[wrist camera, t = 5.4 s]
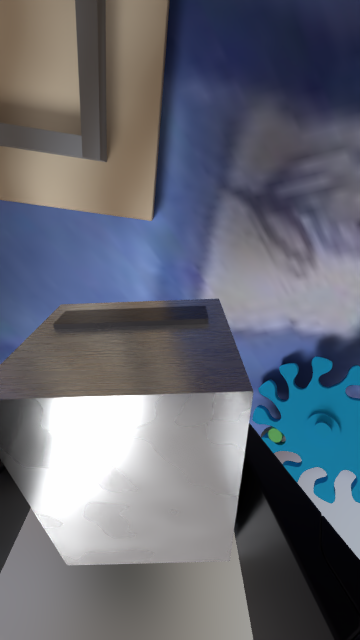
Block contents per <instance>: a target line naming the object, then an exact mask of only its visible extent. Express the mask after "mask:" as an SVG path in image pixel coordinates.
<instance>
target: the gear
mask: <svg viewBox="0 0 360 640" xmlns="http://www.w3.org/2000/svg"><path fill="white" fill-rule="evenodd" d="M312 367H313V377H312V380H311V382H310V383H309V385H308V386H307V387H305V388H300V387H298V386H297V385H296V384H295V381H294V380H295V377H296V376H297V374H298V372H299V367H298V365H297V364H296V363H288V364H284V365H281V366H280V368H279V369H280V373H281V374H282V376H283V377H284V378H285V380H286V381H287V383H288V387H289V399H287V400H282V399H280V398H279V397H278V395H277V385H276V383H275V382H274V381H273V380H268V381H266V382H265V383H263V384H262V385H261V386H260V387H259V389H258V390H259V392H260V393H261V394H262V395H263V396H265V397H267V398H269V399H270V400H271V401H272V402H273V403H274V404H275V405H276V406H277V408H278V410H279V411H280V413H281V419H275V418H273V417H272V416H271V414H270V413H269V411H268V409H267V408H266V407H265V406H262V405H259V406H258V407H257V408H256V409H255V411H254V414H253V421H254V422H255V423H257V424H266V425H270V426H271V427H268V428H266V429H265V430H264V431H263V432H262V434H261V438H262V439H263V441H264V442H265V443H266V444H267V446H268V447H269V448H270V449H271V451H272V452H273V453H275V452H278V451H289V452H293V453H296V454H298V455H299V456H300V457H301V459H302V461H301V462H300V463H296V462H292V461H285V462H284V463H283V466H284V467H285V468H286V470H287V471H288V472H289V473H290V475H291V476H292V477H293V478H294V480H295V481H296V482H298V480H299V477H300V475H301V474H302V473H303V472H304V471H306V470H308V469H310V468H314V467H320V468H322V469H324V470H325V471H326V473H327V476H326V477H323V478H319V479H317V480H316V481H315V483H314V494H315V495H316V496H318V497H319V498H321V499H322V500H324V501H326V502H329V503H333V502H334V501H335V488H334V481H335V479H336V477H337V476H338V474H339V473H340V472H341V471H342V470H349V471H351V472H353V473H354V474H355V475H356V478H355V480H354V481H353V482H352V484H351V491H352V496H353V498H354V500H355V501H356V502H359V503H360V399H359V398H352V397H349V396H348V395H347V394H346V392H345V389H346V388H347V387H348V386H349V385H360V366H358V365H354V366H352V367H351V368H350V369H349V371H348V374H347V375H346V377H345V378H344V379H343V380H342V381H341V382H339V383H337V384H335V385H333V386H330V387H326V386H323V385H322V384H321V383H320V382H319V377H320V376H321V375H322V374H325V373H327V372H329V371H330V370H331V369H332V361H330V360H329V359H326V358H323V357H318V356H316V357H314V358H313V360H312Z"/></svg>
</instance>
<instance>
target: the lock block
mask: <svg viewBox="0 0 360 640" xmlns="http://www.w3.org/2000/svg"><path fill="white" fill-rule="evenodd" d="M252 398H253V389H252V386H251V383H250V381H249V378H248V375H247V373H246V370H245V367H244V365H243V362H242V359H241V357H240V354H239V351H238V349H237V346H236V343H235V340H234V338H233V335H232V332H231V330H230V327H229V324H228V322H227V319H226V316H225V314H224V311H223V308H222V306H221V303H220V300H219V299H196V300H170V301H143V302H116V303H90V304H63V305H60V306H59V307H58V308H57V309H56V310H55V311H54V312H53V313H52V314H51V315H50V316H49V317H48V318H47V319H46V320H45V321H44V322H43V323H42V324H41V325H40V326H39V327H38V328H37V329H36V330H35V331H34V332H33V333H32V334H31V335H30V336H29V337H28V338H27V339H26V340H25V341H24V342H23V343H22V344H21V345H20V346H19V347H18V348H17V349H16V350H15V351H14V352H13V353H12V354H11V355H10V356H9V357H8V358H7V359H6V360H5V361H4V362H3V363H2V364H1V365H0V459H1V461H2V462H3V464H4V465H5V467H6V469H7V470H8V472H9V473H10V475H11V476H12V478H13V480H14V481H15V483H16V484H17V486H18V488H19V489H20V491H21V492H22V494H23V496H24V497H25V499H26V500H27V502H28V504H29V505H30V507H31V508H32V510H33V511H34V513H35V515H36V516H37V518H38V519H39V521H40V523H41V524H42V526H43V527H44V529H45V531H46V532H47V534H48V535H49V537H50V539H51V540H52V542H53V543H54V545H55V546H56V548H57V550H58V551H59V553H60V554H61V556H62V558H63V559H64V561H65V562H66V564H67V565H92V564H131V563H132V564H134V563H172V562H173V563H174V562H209V561H210V562H212V561H213V562H214V561H230V554H231V547H232V540H233V532H234V526H235V519H236V512H237V505H238V498H239V490H240V483H241V476H242V469H243V462H244V455H245V448H246V441H247V433H248V426H249V419H250V412H251V405H252Z"/></svg>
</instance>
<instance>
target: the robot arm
mask: <svg viewBox="0 0 360 640" xmlns="http://www.w3.org/2000/svg"><path fill="white" fill-rule="evenodd" d="M30 508H31V507H30V505H29V504H28V502H27V500H26V499H25V497H24V496H23V494H22V492H21V491H20V489H19V488H18V486H17V484H16V483H15V481H14V480H13V478H12V476H11V475H10V473H9V472H8V470H7V469H6V467H5V465H4V464H3V462H2V461H1V459H0V572H1V570H2V568H3V566H4V564H5V562H6V560H7V557H8V555H9V553H10V551H11V549H12V547H13V544H14V542H15V540H16V538H17V536H18V534H19V532H20V530H21V527H22V525H23V523H24V521H25V519H26V517H27V514H28V512H29V510H30ZM234 532H235V538H236V544H237V549H238V554H239V560H240V566H241V572H242V577H243V583H244V588H245V594H246V600H247V605H248V611H249V617H250V622H251V628H252V634H253V639H254V640H360V560H359V558H358V557H357V556H356V555H355V554H354V553H353V551H352V550H351V549H350V548H349V547H348V545H347V544H346V543H345V542H344V540H343V539H342V538H341V537H340V536H339V534H338V533H337V532H336V531H335V530H334V528H333V527H332V526H331V525H330V523H329V522H328V521H327V520H326V518H325V517H324V516H321V512H320V511H319V510H318V508H317V507H316V506H315V505H314V503H313V502H312V501H311V500H310V498H309V497H308V496H307V495H306V493H305V492H304V491H303V490H302V488H301V487H300V486H299V485H298V483H297V482H296V481H295V480H294V478H293V477H292V476H291V475H290V473H289V472H288V471H287V470H286V468H285V467H284V466H283V465H282V463H281V462H280V461H279V460H278V458H277V457H276V456H275V455H274V453H273V452H272V451H271V449H270V448H269V447H268V446H267V444H266V443H265V442H264V441H263V439H262V438H261V437H260V436H259V434H258V433H257V432H256V431H255V429H254V428H253V427H252V426H251V424H250V423H249V426H248V433H247V441H246V448H245V455H244V462H243V469H242V476H241V483H240V490H239V498H238V505H237V512H236V519H235V526H234Z"/></svg>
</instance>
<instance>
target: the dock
mask: <svg viewBox="0 0 360 640" xmlns="http://www.w3.org/2000/svg"><path fill="white" fill-rule="evenodd" d="M169 1H170V0H0V200H6V201H13V202H20V203H27V204H35V205H42V206H49V207H56V208H63V209H70V210H78V211H85V212H92V213H99V214H106V215H113V216H120V217H128V218H135V219H142V220H149V221H152V220H153V216H154V202H155V189H156V175H157V162H158V148H159V135H160V122H161V108H162V95H163V81H164V68H165V55H166V41H167V28H168V14H169Z"/></svg>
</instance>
